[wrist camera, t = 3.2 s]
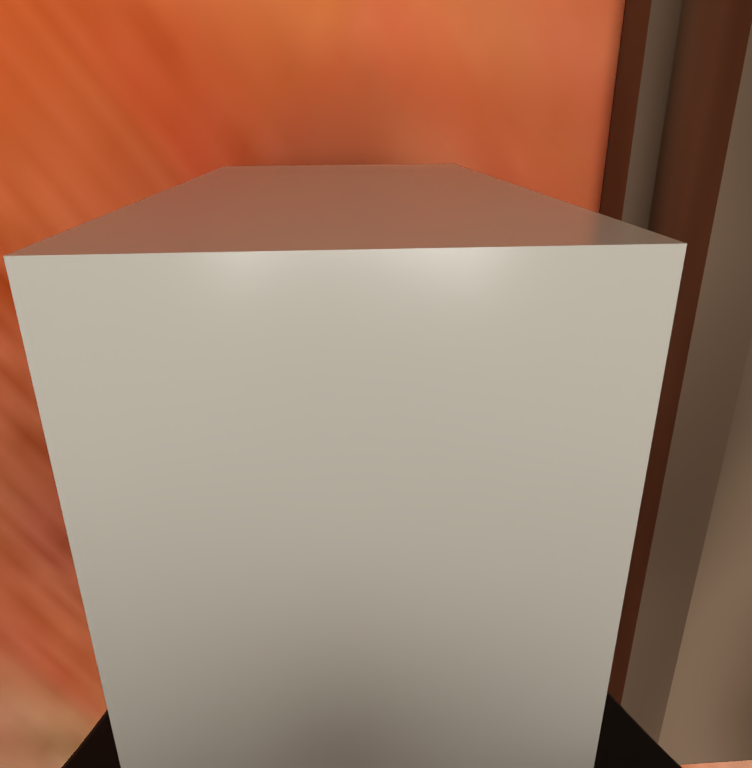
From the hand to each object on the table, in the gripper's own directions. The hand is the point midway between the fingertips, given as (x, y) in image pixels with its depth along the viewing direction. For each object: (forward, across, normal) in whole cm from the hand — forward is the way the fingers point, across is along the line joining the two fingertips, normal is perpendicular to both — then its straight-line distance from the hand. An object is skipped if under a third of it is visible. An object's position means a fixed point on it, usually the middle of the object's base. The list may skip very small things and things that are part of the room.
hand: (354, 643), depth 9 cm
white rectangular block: (+2, 0, 0) cm, 2 cm away
